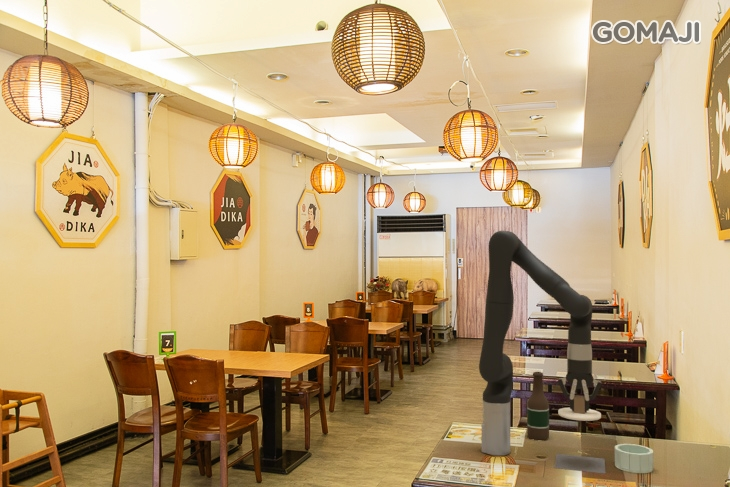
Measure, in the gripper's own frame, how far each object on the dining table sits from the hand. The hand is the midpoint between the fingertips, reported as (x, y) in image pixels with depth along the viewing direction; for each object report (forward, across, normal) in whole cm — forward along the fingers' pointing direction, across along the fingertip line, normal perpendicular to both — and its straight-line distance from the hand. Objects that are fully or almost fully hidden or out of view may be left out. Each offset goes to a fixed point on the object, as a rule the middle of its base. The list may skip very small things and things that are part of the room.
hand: (579, 411), depth 202 cm
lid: (+1, 0, 0) cm, 1 cm away
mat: (+17, 0, 0) cm, 17 cm away
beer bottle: (+17, -15, +26) cm, 34 cm away
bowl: (+17, +16, +2) cm, 23 cm away
